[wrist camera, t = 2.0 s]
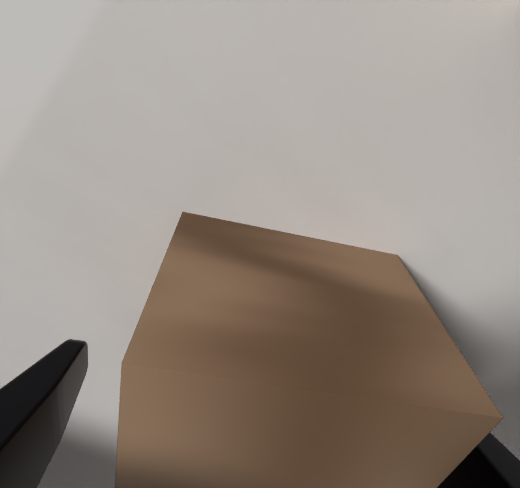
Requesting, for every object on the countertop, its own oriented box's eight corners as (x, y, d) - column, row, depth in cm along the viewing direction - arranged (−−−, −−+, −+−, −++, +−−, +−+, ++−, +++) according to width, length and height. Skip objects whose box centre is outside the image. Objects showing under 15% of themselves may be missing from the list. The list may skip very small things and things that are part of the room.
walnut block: (162, 364, 12) (111, 544, 8) (183, 209, 9) (121, 363, 5) (327, 388, 13) (363, 563, 9) (395, 252, 10) (503, 417, 6)
